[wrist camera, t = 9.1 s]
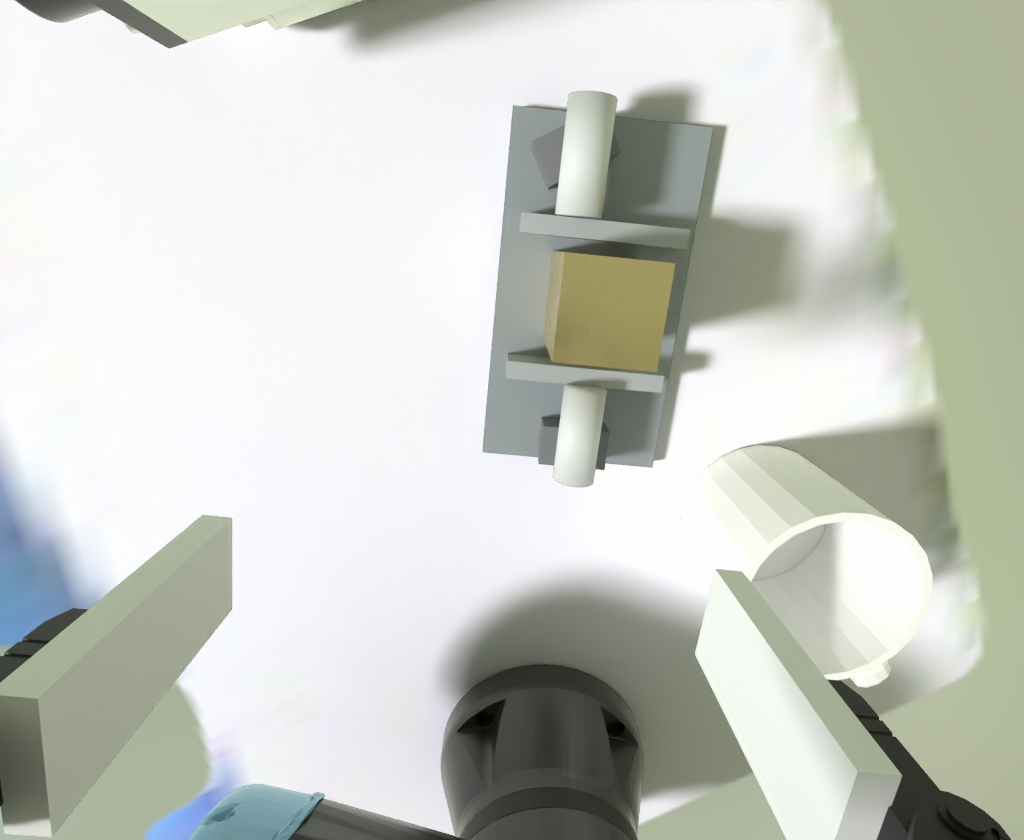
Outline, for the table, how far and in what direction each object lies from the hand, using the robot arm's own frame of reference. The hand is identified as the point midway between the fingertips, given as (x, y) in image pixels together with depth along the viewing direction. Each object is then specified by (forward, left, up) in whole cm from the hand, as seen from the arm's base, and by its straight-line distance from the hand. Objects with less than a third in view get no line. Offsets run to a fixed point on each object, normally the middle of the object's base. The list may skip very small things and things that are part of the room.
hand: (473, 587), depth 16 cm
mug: (-8, -19, -22) cm, 30 cm away
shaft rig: (+6, -5, -22) cm, 23 cm away
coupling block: (+6, -5, -21) cm, 23 cm away
